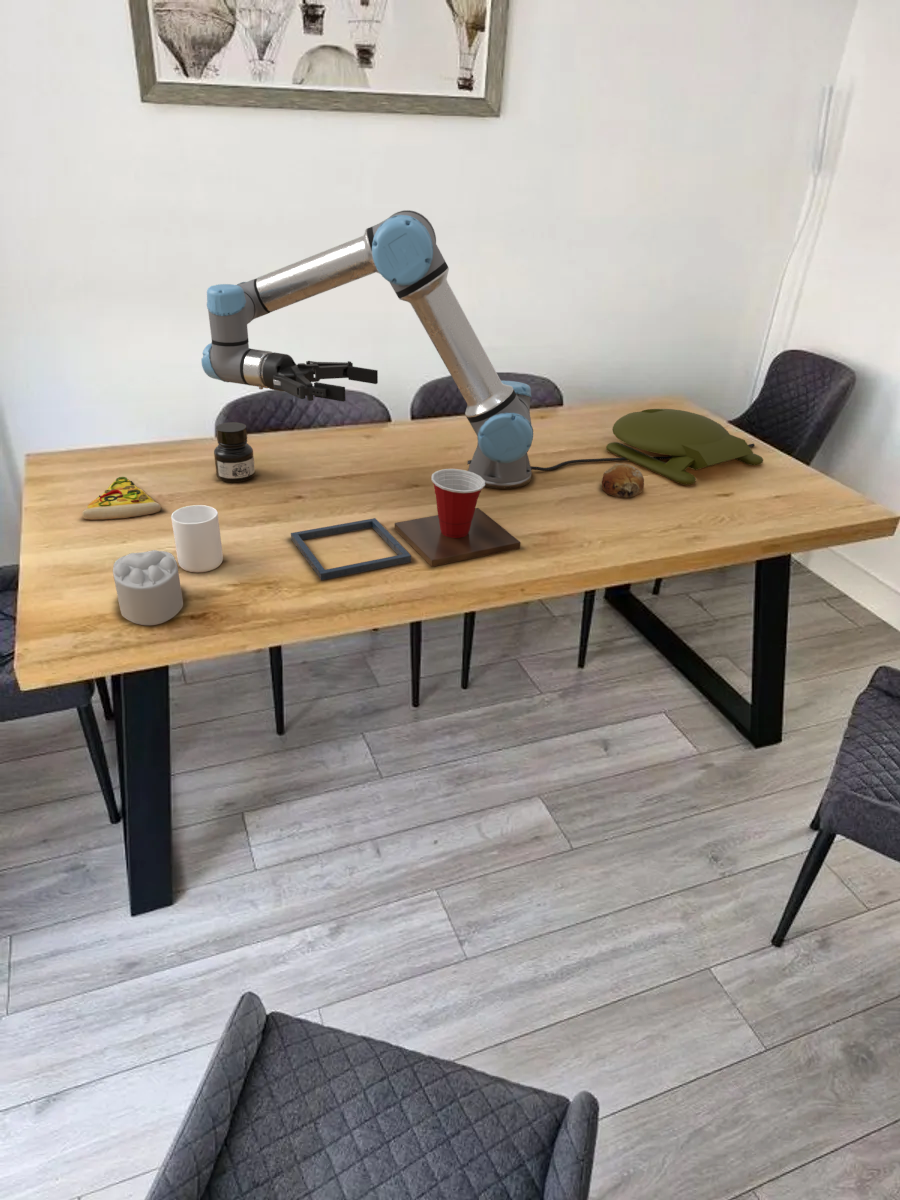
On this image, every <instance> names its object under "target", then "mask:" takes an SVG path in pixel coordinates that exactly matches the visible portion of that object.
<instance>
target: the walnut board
mask: <svg viewBox="0 0 900 1200" xmlns="http://www.w3.org/2000/svg"><path fill="white" fill-rule="evenodd" d="M393 525H394V528H393V529H394V531H395V532H397V534H399V536H401V537H402V539H403V540H404V541H405V542H406V543H407V544H409V546H410V547H411V548H412V549H413V550H414V551H415V552H416V553H417V554H418V555H419V556H420V557H421V558H422V559H423V560H424V561H425V562H426V563H427V564H428V565H429V566H430V567H432V568H433V567H437V566H442V565H448V564H452V563H457V562H462V561H467V560H472V559H476V558H481V557H485V556H491V555H495V554H499V553H504V552H509V551H514V550H519V549H521V541H520V540H519V539H517V538H516V537H515V536H513V534H511V533H510V532H509V531H508V530H506V529H505V528H504V527H503V526H502V525H500V524H499V523H497V521H495V519H493V518H491V517H490V516H489V515H488V514H487V513H485V512H484V511H483V510H482V509H481V508H479V507H476V508H475V512H474V516H473V519H472V522H471V526H470V531H469V533H468V534H467V535H466V536H464V537H461V538H451V537H447V536H445V535H443V534H442V533H441V530H440V523H439V518H438V514H436V515H431V516H425V517H419V518H413V519H409V520H404V521H397V522H394V524H393Z"/></svg>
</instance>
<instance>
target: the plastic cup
mask: <svg viewBox="0 0 900 1200" xmlns="http://www.w3.org/2000/svg"><path fill="white" fill-rule="evenodd" d="M431 482H432V484H433V489H434V494H435V502H436V503H435V504H436V509H437V510H436V511H437V515H438V518H439V523H440V530H441V533H442V534H443V535H445V536H447V537H451V538H461V537H464V536H466V535H467V534H468V533H469V531H470V526H471V522H472V519H473V516H474V512H475V508H477V503H478V499H479V497H480V493H482V490H483V489H484V488H485V480H484V479H483V478H482V477H481V476H479V475H477V474H475V473H473V472H469V471H468V470H465V469H459V468H443V469H440V470H436V471H435V472H433V473H432V474H431Z"/></svg>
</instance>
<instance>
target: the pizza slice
mask: <svg viewBox="0 0 900 1200" xmlns="http://www.w3.org/2000/svg"><path fill="white" fill-rule="evenodd" d="M86 507H87V508H85V509H83V510H82V513H81V515H82V518H83V519H84V520H114V519H116V520H117V519H128V518H135V517H140V516H147V515H153V514H155V513H159V512H161V510H162V507H161V504H160V503H159V502H156V501H155V500H154V499H153V498H152V497H151V496H150V495H148V494H147V493H146V492H145V491H144V490H143V489H141V488H139V487H138V486H136V485H135V483H134V481H133V480H129V479H128V478H127V477H126V476H119V477H117V478H116V479H115V480H114V481H113V482H112V483H111V484H110V485H109V486H108V487H107V488H106V489H105V490H104V492H103V493H102V494H101V495H98V497H96V498H95V499H93V500H92V501H91V502H90V503H88V504H87V506H86Z"/></svg>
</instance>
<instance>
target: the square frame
mask: <svg viewBox="0 0 900 1200" xmlns="http://www.w3.org/2000/svg"><path fill="white" fill-rule="evenodd" d="M371 528H372V529H373V530H374V531H375V533H377V535H379V537H380V538H381V539H382V540H383V541H384V543H386V544H387V545H388V546H389V547H390V549H392V551H394V553H395V554H396V555H392V556H388V557H387V556H386V557H382V558H377V559H372V560H366V561H361V562H357V563H352V564H348V565H342V566H337V567H331V568H328V569H327V568H326V569H325V568H324V567H323V565H322V564H321V562H320V560H318V558H316V556H315V554H313V552H312V551H311V549H310V548H309V546H307V544H306V543H305V542H304V541H306V540H311V539H318V538H322V537H327V536H328V537H329V536H334V535H339V534H344V533H350V532H356V531H361V530H366V529H371ZM290 540H291V542H292V543H293V544H294V545H295V547H296V548H297V549H298V551H299V552H300V553H301V556H303V559H305V561H306V562H307V563H308V564H309V566H310V567H311V569H312V570H313V571H314V573H315V574H316V576H317V577H318V578H319V579H320V580H321V581H326V580H331V579H336V578H341V577H346V576H350V575H355V574H361V573H365V572H370V571H375V570H380V569H384V568H390V567H394V566H399V565H405V564H409V563H412V555H411V554H410V553H409V551H408V550H407V549H406V548H405V547H404V546H403V545H402V544H401V543H400V542H399V541H398V540H397V539H396V538H395V537H394V536H393V535H392V533H390V531H388V530H387V529H386V527H384V526H383V525H382V523H381V522H379V520H378V519H377V518H376V517H374V518H368V519H362V520H357V521H356V520H355V521H352V522H345V523H340V524H339V523H338V524H335V525H334V524H333V525H329V526H323V527H318V528H316V527H315V528H310V529H306V530H305V529H304V530H299V531H295V532H290Z"/></svg>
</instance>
